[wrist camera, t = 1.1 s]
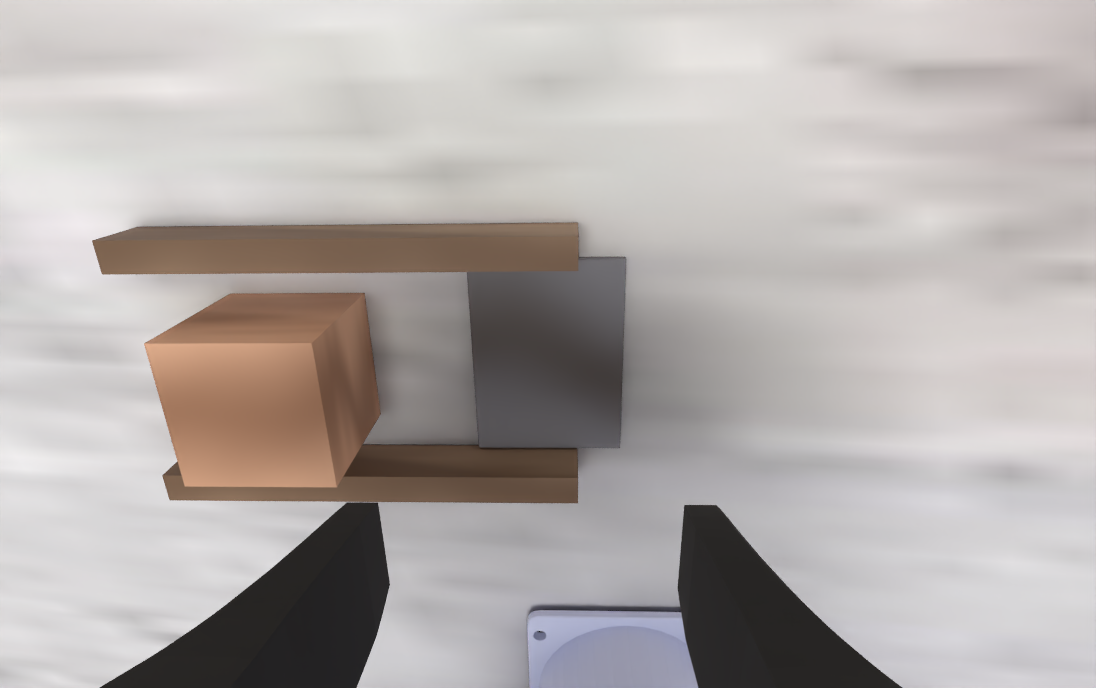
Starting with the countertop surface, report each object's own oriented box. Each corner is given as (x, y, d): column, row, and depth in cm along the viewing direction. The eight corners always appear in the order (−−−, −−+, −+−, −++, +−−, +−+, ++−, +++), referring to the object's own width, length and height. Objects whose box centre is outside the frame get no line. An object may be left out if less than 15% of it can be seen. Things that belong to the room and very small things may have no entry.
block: (381, 412, 22) (336, 487, 18) (258, 412, 22) (184, 486, 18) (365, 292, 20) (311, 343, 16) (231, 292, 20) (144, 343, 16)
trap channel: (618, 469, 22) (622, 503, 20) (202, 467, 23) (169, 500, 21) (626, 222, 19) (632, 235, 17) (137, 227, 19) (92, 240, 18)
